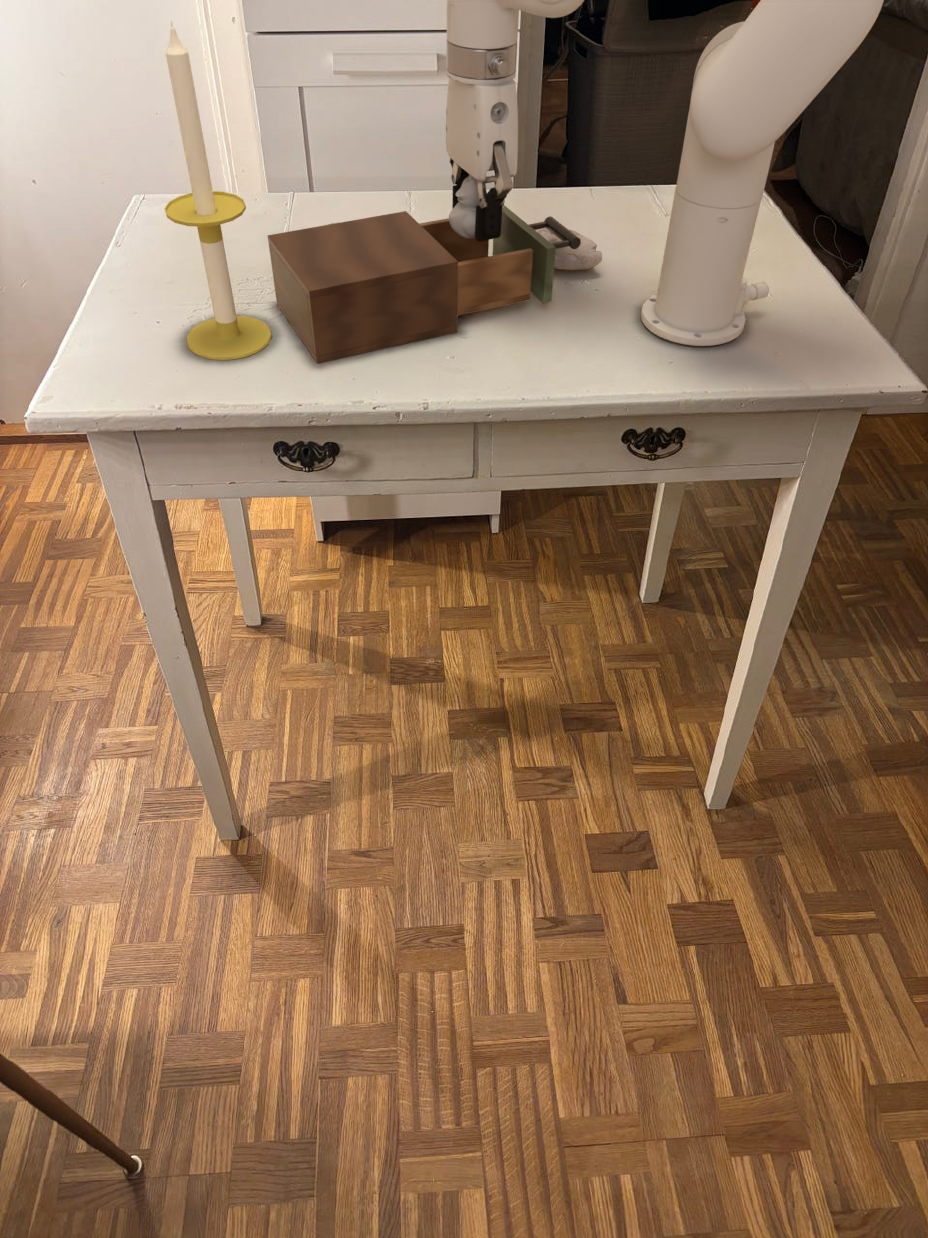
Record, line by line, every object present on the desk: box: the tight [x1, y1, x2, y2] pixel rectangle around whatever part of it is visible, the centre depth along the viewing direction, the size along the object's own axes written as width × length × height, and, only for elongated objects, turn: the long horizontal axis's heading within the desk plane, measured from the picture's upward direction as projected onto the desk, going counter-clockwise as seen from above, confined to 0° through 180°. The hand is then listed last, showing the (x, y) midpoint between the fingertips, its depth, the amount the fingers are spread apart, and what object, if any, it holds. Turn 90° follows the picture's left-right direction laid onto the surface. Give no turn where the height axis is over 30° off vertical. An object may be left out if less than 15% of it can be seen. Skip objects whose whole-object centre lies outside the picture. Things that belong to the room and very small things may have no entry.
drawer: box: [419, 204, 581, 317], centre depth 116 cm, size 22×14×7 cm, turn 115°
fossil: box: [535, 228, 603, 271], centre depth 124 cm, size 12×4×10 cm
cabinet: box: [267, 210, 458, 364], centre depth 110 cm, size 18×15×9 cm
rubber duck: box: [448, 174, 503, 239], centre depth 110 cm, size 5×7×8 cm
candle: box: [164, 20, 273, 361], centre depth 98 cm, size 10×10×32 cm
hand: (476, 226), depth 112 cm, fingers closed on rubber duck, 5 cm apart
